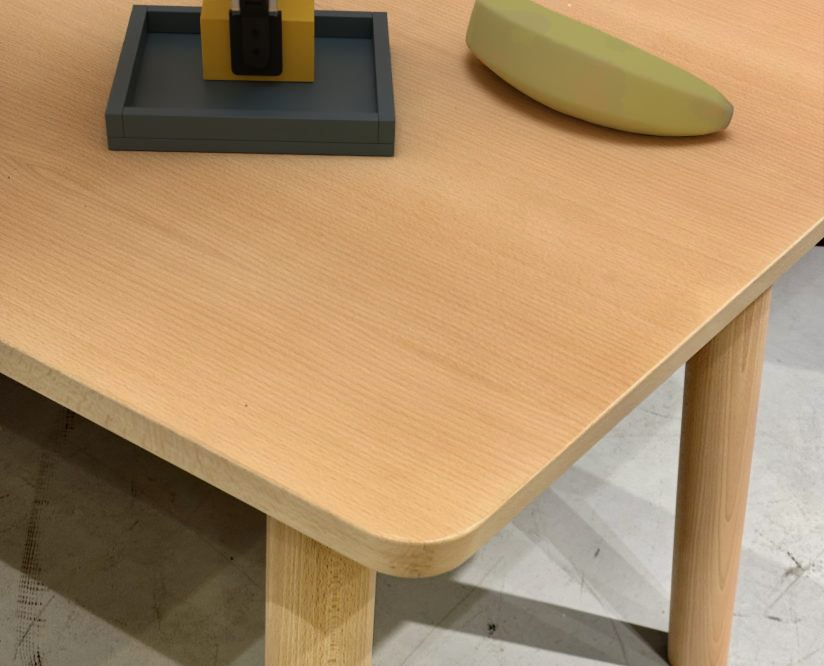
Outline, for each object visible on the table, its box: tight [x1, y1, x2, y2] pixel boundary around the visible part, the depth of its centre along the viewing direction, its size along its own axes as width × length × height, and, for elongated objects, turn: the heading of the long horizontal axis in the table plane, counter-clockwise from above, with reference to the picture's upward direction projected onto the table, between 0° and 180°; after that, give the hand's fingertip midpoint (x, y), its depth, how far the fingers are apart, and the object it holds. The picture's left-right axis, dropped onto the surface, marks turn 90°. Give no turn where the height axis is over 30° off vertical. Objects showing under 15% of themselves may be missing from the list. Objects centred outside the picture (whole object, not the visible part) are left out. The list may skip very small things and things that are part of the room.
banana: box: [465, 0, 735, 137], centre depth 91 cm, size 14×6×20 cm
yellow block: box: [200, 0, 315, 82], centre depth 88 cm, size 7×5×4 cm, turn 93°
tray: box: [104, 4, 397, 157], centre depth 88 cm, size 17×16×2 cm
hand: (258, 52), depth 89 cm, fingers closed on yellow block, 4 cm apart
